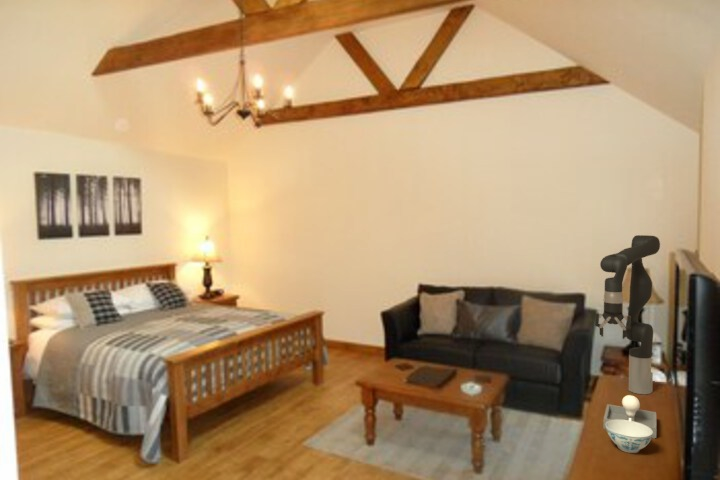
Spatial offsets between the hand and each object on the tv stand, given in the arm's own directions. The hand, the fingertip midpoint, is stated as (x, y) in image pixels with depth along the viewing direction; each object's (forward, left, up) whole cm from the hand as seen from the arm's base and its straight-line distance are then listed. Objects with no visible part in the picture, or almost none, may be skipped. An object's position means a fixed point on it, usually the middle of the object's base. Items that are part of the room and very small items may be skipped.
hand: (612, 337), depth 221 cm
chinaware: (+26, +39, -30) cm, 56 cm away
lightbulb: (+10, +22, -29) cm, 38 cm away
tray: (+10, +22, -30) cm, 39 cm away
